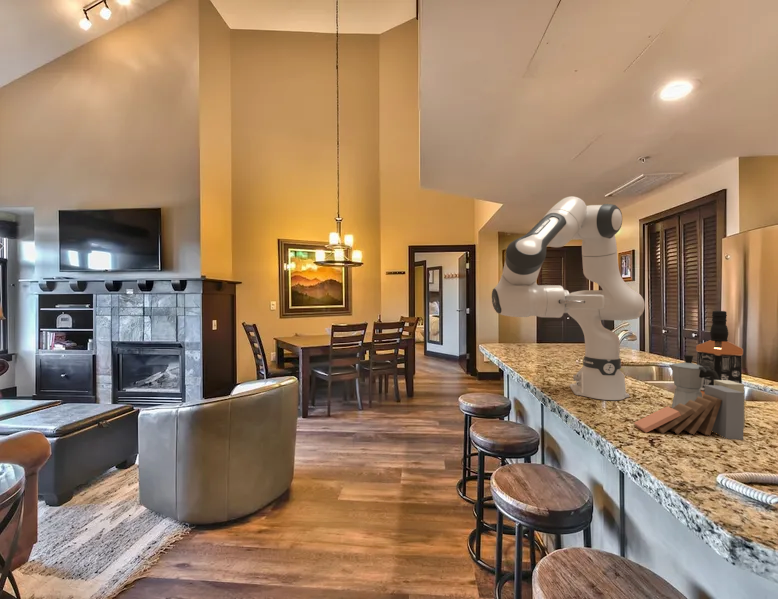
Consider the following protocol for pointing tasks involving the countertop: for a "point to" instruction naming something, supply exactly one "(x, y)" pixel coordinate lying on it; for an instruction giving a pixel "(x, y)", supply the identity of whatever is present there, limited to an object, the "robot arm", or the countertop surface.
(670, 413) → the terracotta domino
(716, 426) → the end block
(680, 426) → the walnut domino
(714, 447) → the countertop surface
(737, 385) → the skincare box
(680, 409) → the walnut domino
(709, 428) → the walnut domino
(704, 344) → the whiskey bottle
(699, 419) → the walnut domino
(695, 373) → the coffee maker
